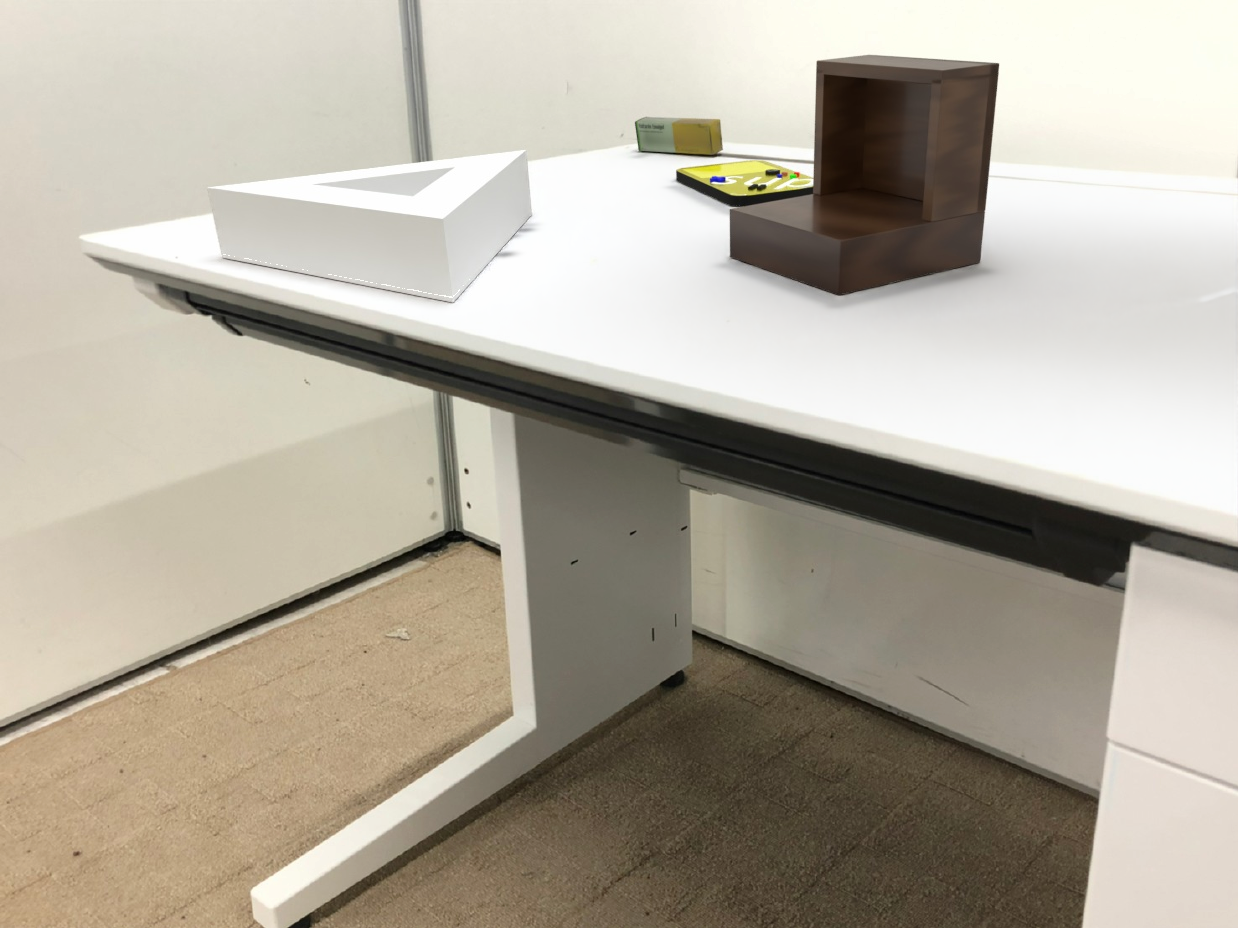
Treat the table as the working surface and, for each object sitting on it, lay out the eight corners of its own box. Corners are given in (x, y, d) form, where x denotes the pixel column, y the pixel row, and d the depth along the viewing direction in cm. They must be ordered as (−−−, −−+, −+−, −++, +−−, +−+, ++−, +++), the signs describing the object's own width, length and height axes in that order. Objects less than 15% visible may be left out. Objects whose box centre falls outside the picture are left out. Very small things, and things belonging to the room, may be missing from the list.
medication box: (636, 152, 138) (632, 121, 136) (649, 146, 140) (645, 115, 138) (712, 155, 131) (709, 122, 129) (724, 150, 133) (722, 117, 131)
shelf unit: (838, 295, 76) (846, 82, 70) (729, 257, 87) (728, 70, 81) (980, 262, 82) (999, 63, 76) (861, 230, 93) (869, 54, 87)
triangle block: (222, 257, 97) (206, 187, 94) (429, 201, 115) (421, 141, 112) (453, 302, 80) (442, 218, 77) (652, 228, 98) (650, 159, 95)
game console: (669, 179, 120) (668, 165, 119) (758, 168, 123) (758, 155, 122) (735, 208, 104) (735, 193, 103) (835, 195, 107) (836, 180, 107)
